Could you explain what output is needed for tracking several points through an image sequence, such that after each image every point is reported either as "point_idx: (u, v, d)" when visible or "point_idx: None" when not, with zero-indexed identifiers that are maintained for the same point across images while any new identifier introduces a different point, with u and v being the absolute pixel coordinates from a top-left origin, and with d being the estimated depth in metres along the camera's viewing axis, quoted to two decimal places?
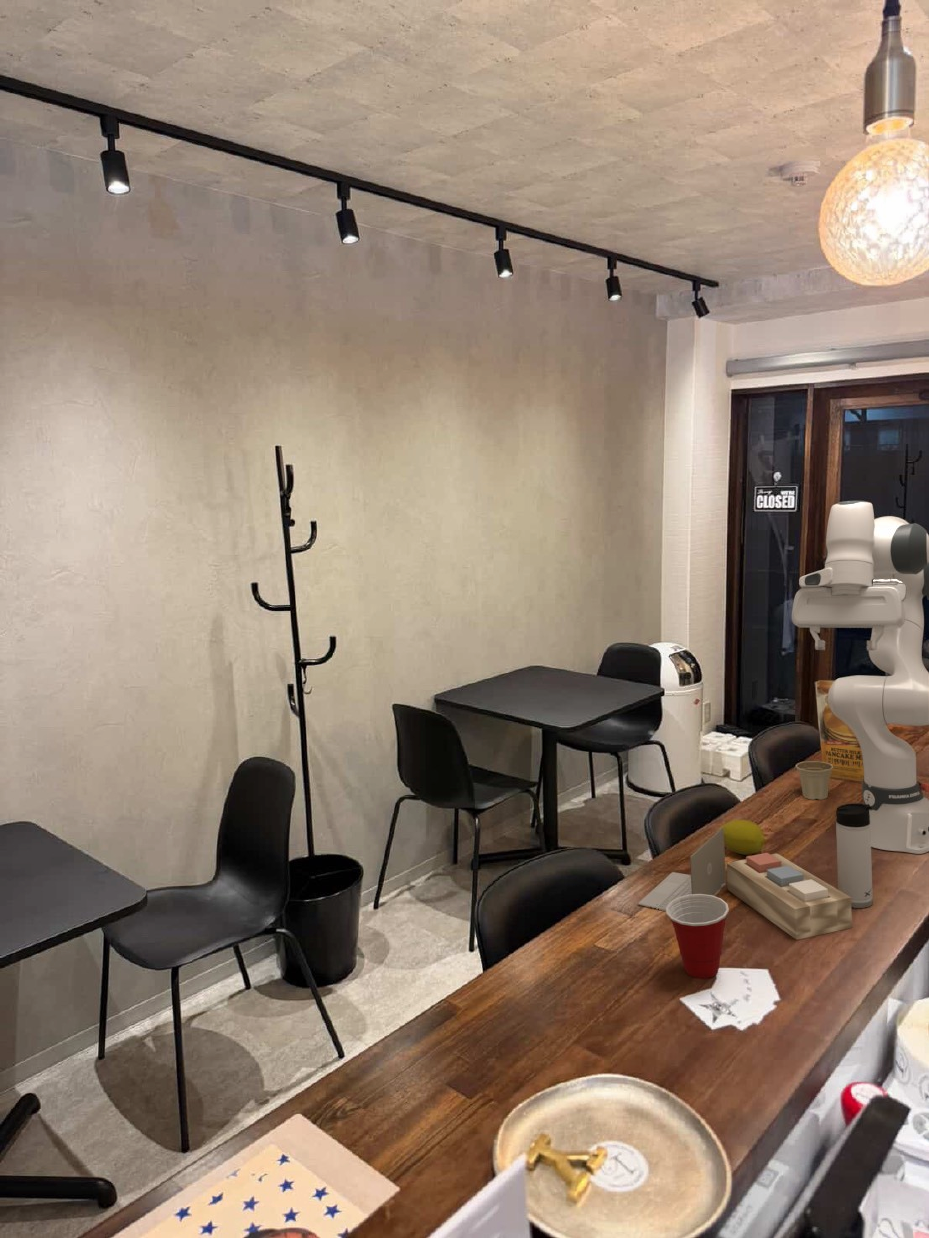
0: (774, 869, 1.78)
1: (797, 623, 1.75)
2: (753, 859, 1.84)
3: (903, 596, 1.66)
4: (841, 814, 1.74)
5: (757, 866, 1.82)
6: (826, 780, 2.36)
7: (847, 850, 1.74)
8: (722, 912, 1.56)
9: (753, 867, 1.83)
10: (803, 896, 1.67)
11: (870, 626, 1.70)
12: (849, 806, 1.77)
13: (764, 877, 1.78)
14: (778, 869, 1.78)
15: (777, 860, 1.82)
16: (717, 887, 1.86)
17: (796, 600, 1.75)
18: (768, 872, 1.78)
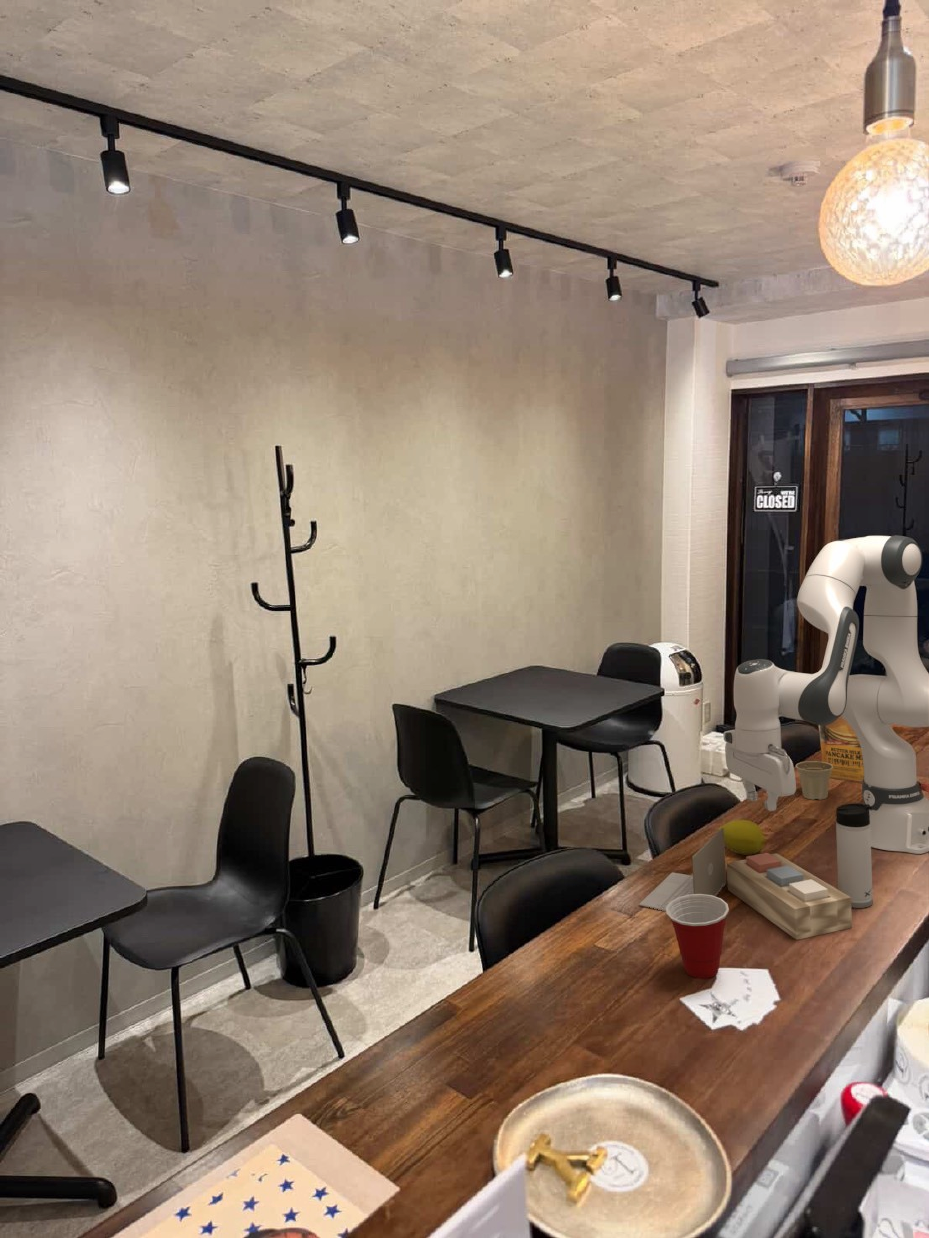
0: (774, 869, 1.78)
1: None
2: (753, 859, 1.84)
3: (786, 768, 1.71)
4: (841, 814, 1.74)
5: (757, 866, 1.82)
6: (826, 780, 2.36)
7: (847, 850, 1.74)
8: (722, 912, 1.56)
9: (753, 867, 1.83)
10: (803, 896, 1.67)
11: None
12: (849, 806, 1.77)
13: (764, 877, 1.78)
14: (778, 869, 1.78)
15: (777, 860, 1.82)
16: (718, 887, 1.86)
17: (725, 751, 1.89)
18: (768, 872, 1.78)
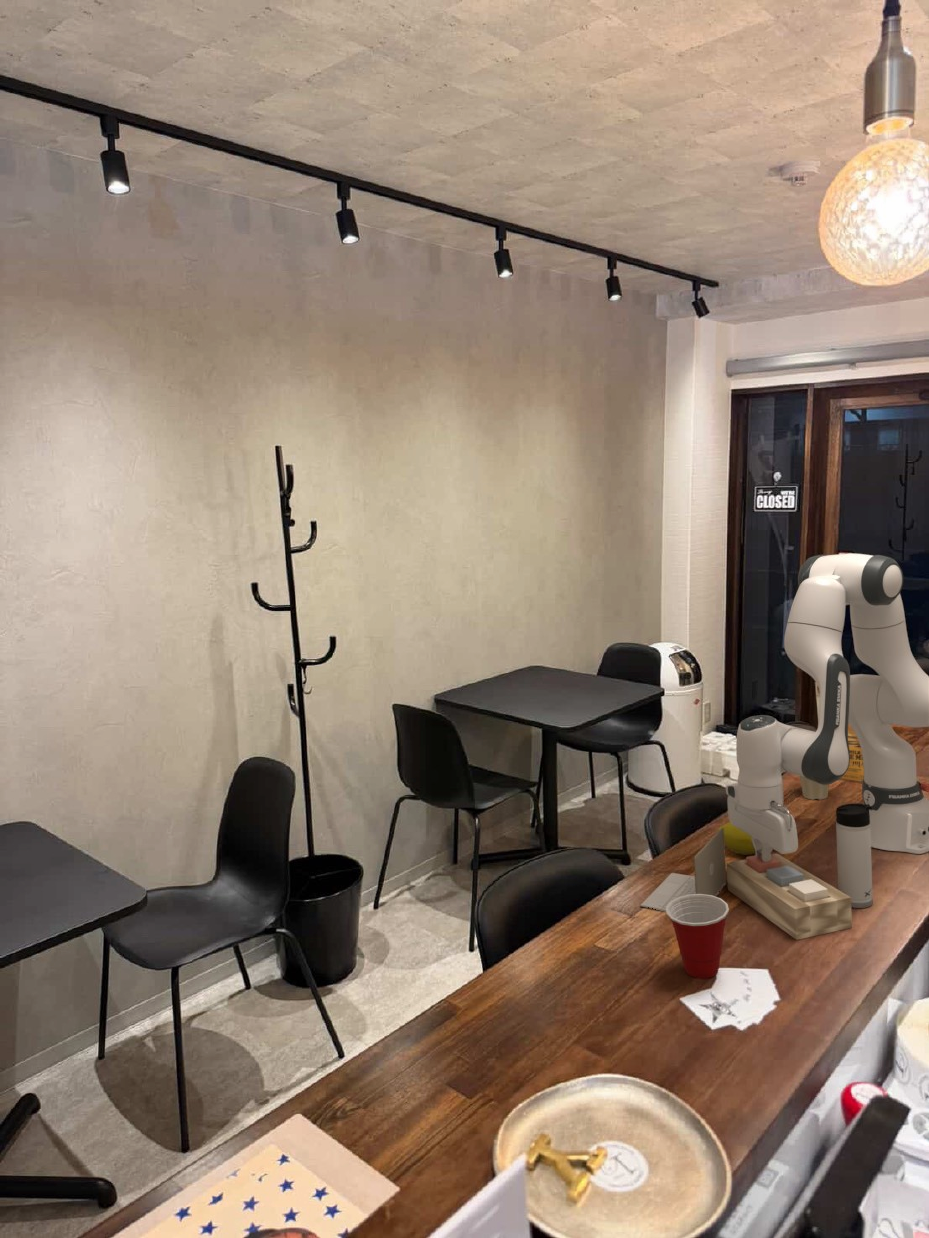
0: (774, 869, 1.78)
1: (732, 824, 1.91)
2: (753, 859, 1.84)
3: (788, 826, 1.73)
4: (841, 814, 1.74)
5: (757, 867, 1.82)
6: None
7: (847, 850, 1.74)
8: (722, 912, 1.56)
9: (753, 867, 1.83)
10: (803, 896, 1.67)
11: None
12: (849, 806, 1.77)
13: (764, 877, 1.78)
14: (778, 869, 1.78)
15: (777, 860, 1.82)
16: (718, 887, 1.86)
17: (728, 804, 1.91)
18: (768, 872, 1.78)
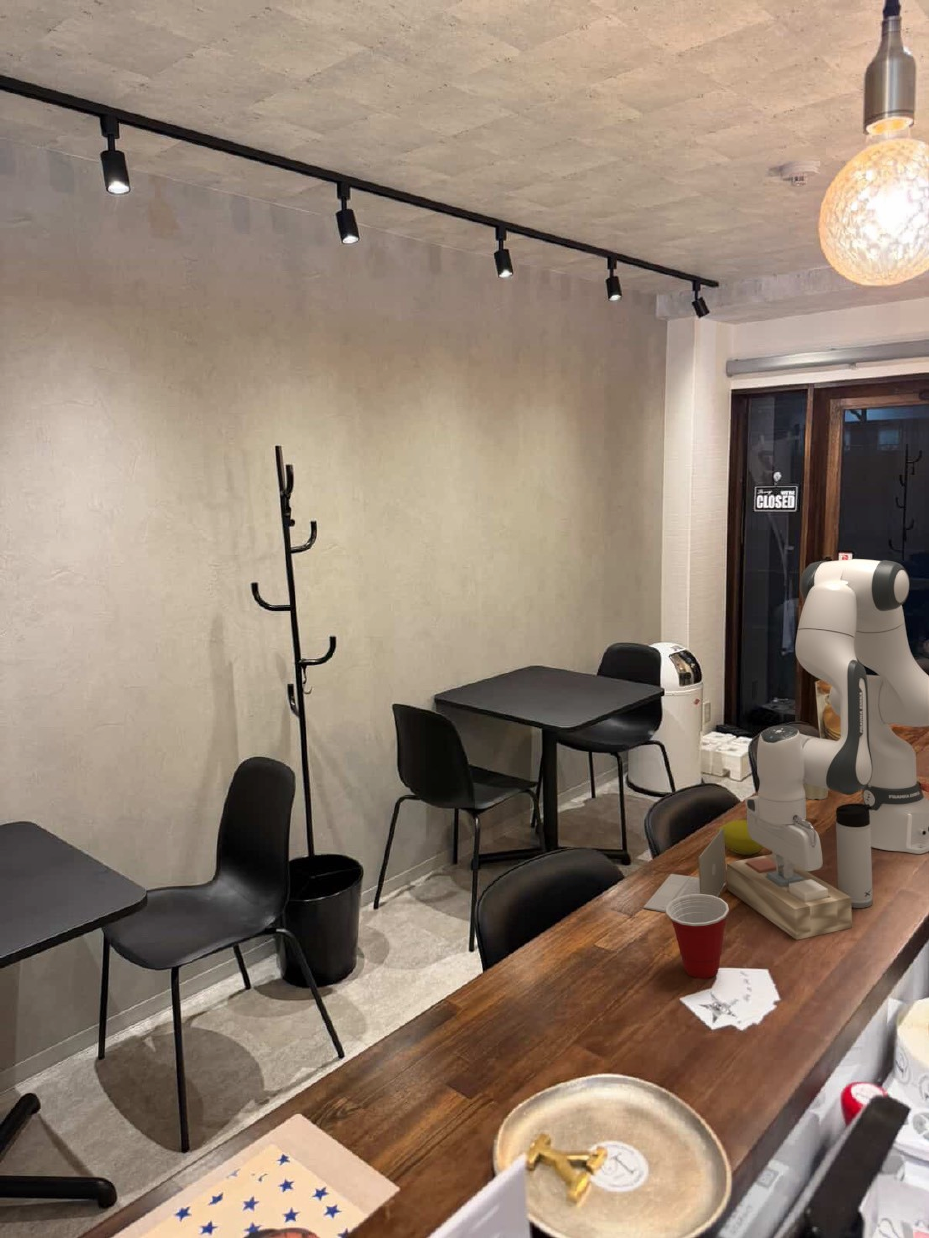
0: (774, 873, 1.78)
1: None
2: (753, 864, 1.84)
3: (812, 843, 1.66)
4: (841, 814, 1.74)
5: (757, 871, 1.82)
6: None
7: (847, 850, 1.74)
8: (722, 912, 1.56)
9: None
10: (803, 896, 1.67)
11: None
12: (849, 806, 1.77)
13: (764, 877, 1.78)
14: None
15: None
16: (720, 887, 1.86)
17: (747, 818, 1.84)
18: (768, 876, 1.78)
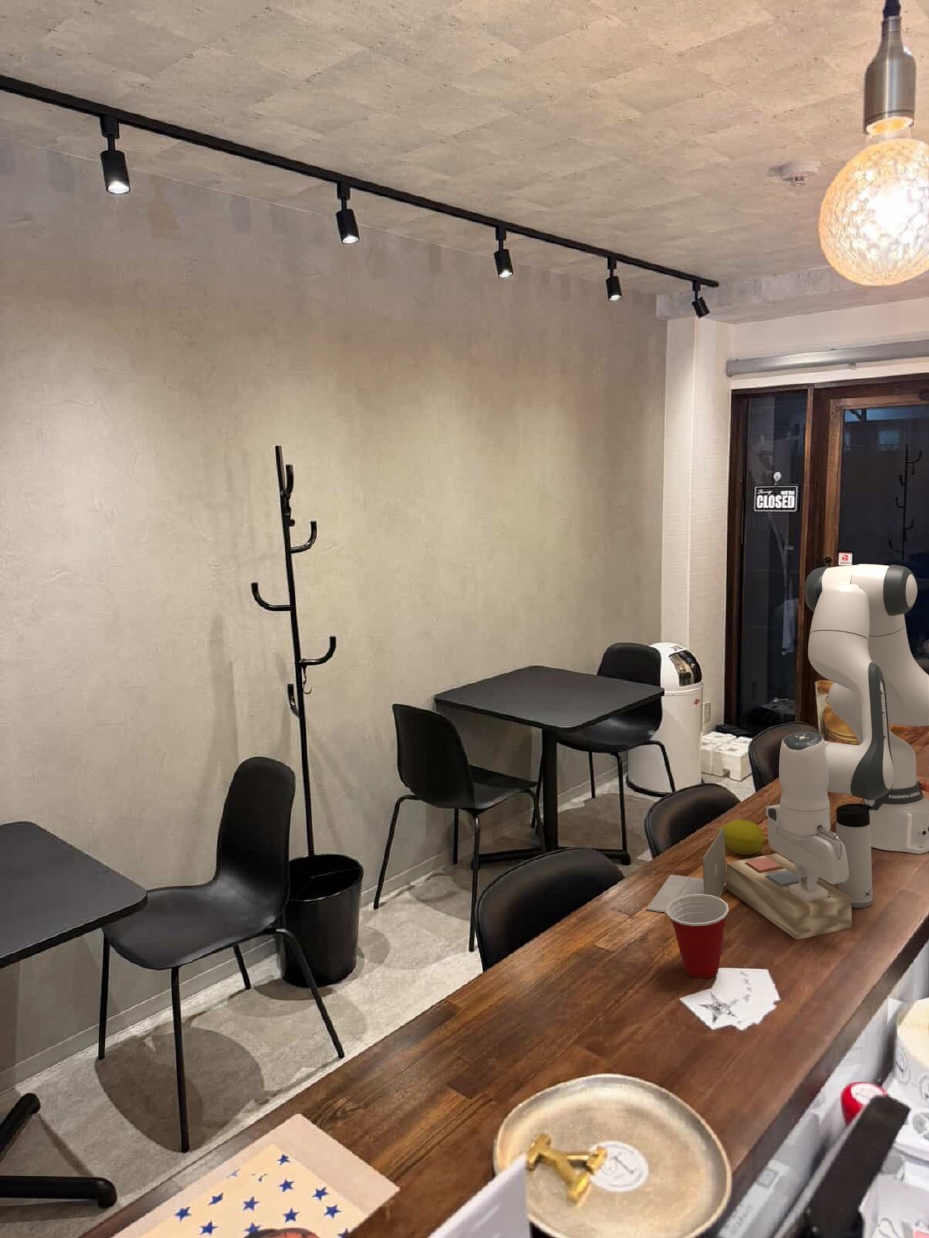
0: (774, 874, 1.78)
1: (772, 849, 1.77)
2: (753, 864, 1.84)
3: (838, 854, 1.58)
4: (841, 814, 1.74)
5: (757, 871, 1.82)
6: None
7: (847, 850, 1.74)
8: (722, 912, 1.56)
9: None
10: (803, 898, 1.67)
11: None
12: (849, 806, 1.77)
13: (764, 877, 1.78)
14: (778, 874, 1.78)
15: (777, 865, 1.82)
16: (721, 887, 1.86)
17: (768, 827, 1.76)
18: (768, 877, 1.78)
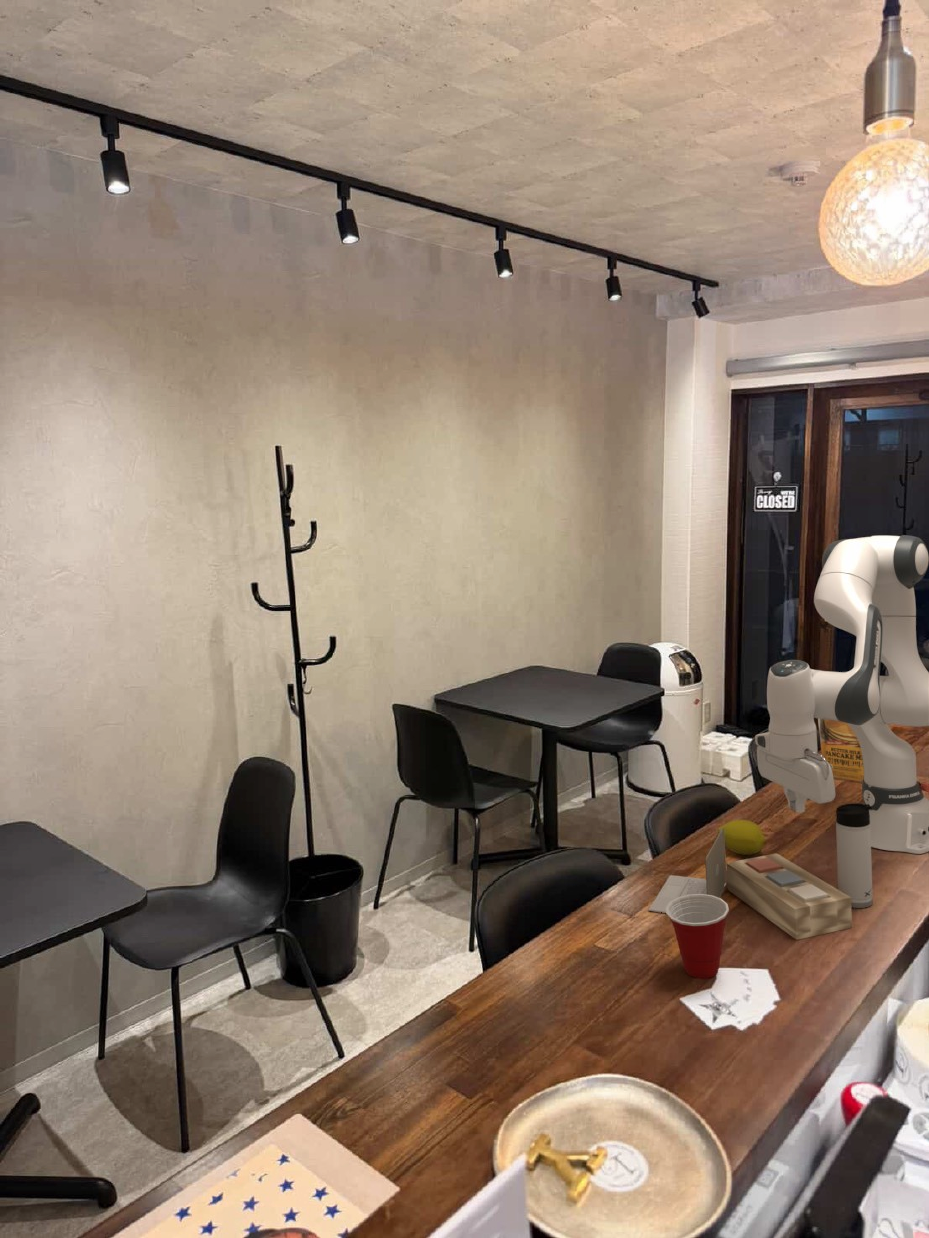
0: (774, 874, 1.78)
1: (762, 776, 1.83)
2: (753, 864, 1.84)
3: (825, 775, 1.65)
4: (841, 814, 1.74)
5: (757, 871, 1.82)
6: None
7: (847, 850, 1.74)
8: (722, 912, 1.56)
9: None
10: (803, 901, 1.67)
11: None
12: (849, 806, 1.77)
13: (764, 877, 1.78)
14: (778, 874, 1.78)
15: (777, 865, 1.82)
16: (722, 887, 1.86)
17: (757, 755, 1.82)
18: (768, 877, 1.78)
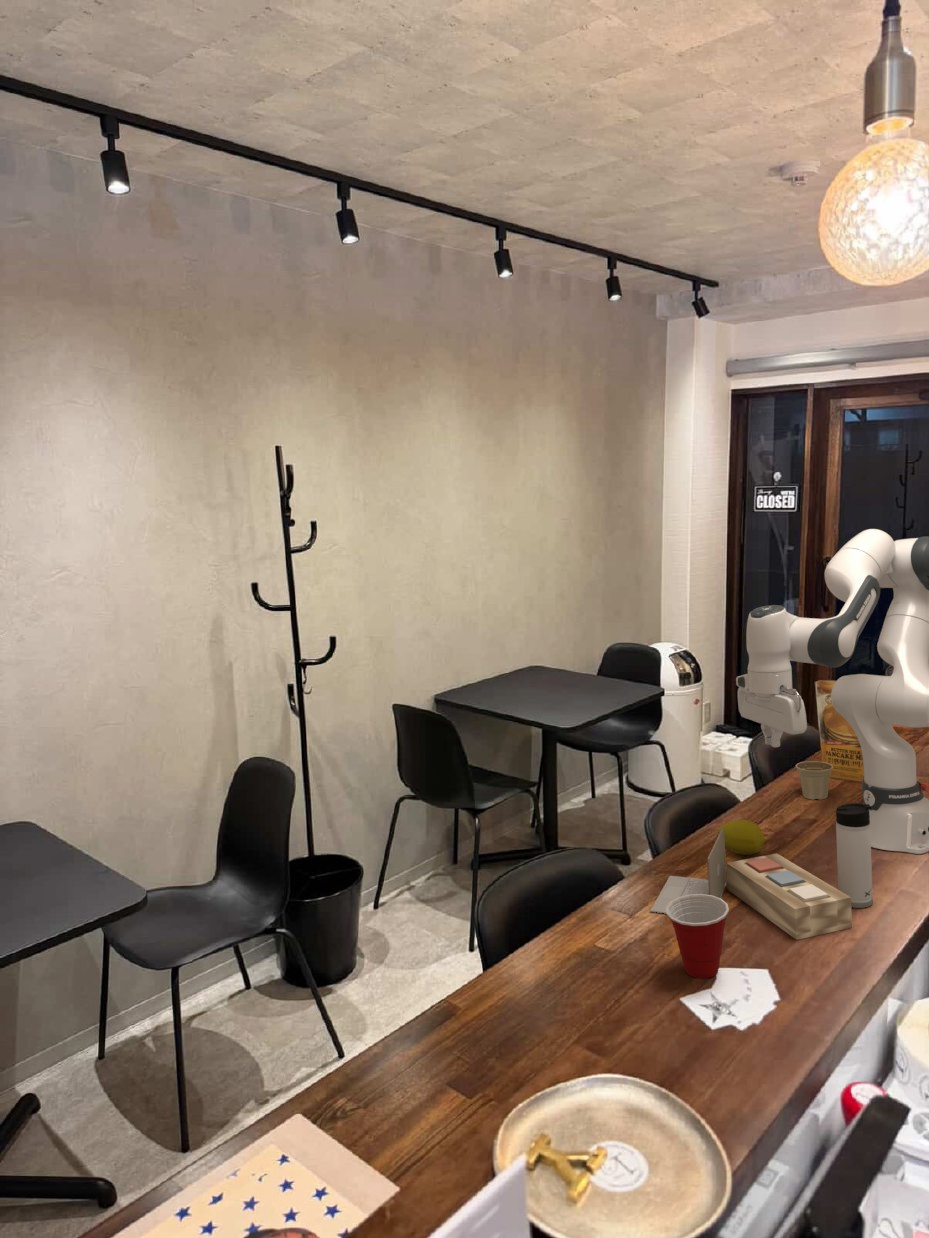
0: (774, 874, 1.78)
1: (742, 716, 1.97)
2: (753, 864, 1.84)
3: (797, 707, 1.78)
4: (841, 814, 1.74)
5: (757, 871, 1.82)
6: (826, 780, 2.36)
7: (847, 850, 1.74)
8: (722, 912, 1.56)
9: None
10: (803, 901, 1.67)
11: None
12: (849, 806, 1.77)
13: (764, 877, 1.78)
14: (778, 874, 1.78)
15: (777, 865, 1.82)
16: (722, 887, 1.86)
17: (738, 696, 1.96)
18: (768, 877, 1.78)
